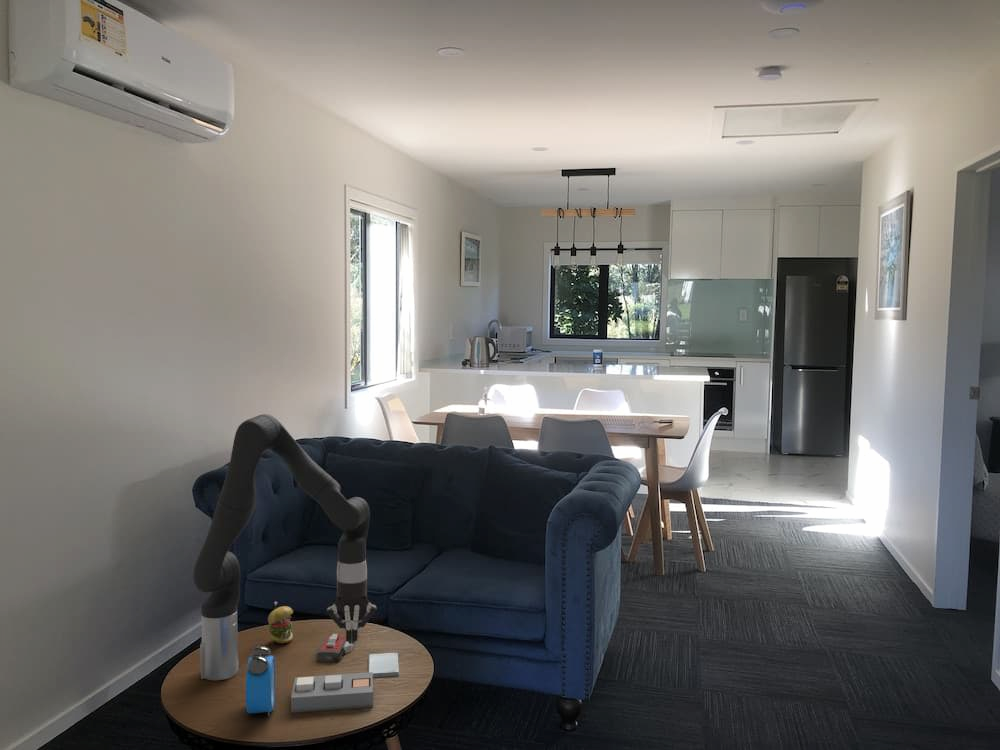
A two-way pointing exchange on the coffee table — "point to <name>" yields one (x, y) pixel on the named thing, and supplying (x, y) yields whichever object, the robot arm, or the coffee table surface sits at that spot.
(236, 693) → the coffee table surface
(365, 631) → the coffee table surface
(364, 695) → the keypad
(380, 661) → the hard drive
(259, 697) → the alarm clock
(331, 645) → the walkie-talkie
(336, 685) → the key mid grey
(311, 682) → the key near ivory
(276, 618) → the hamburger
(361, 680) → the key far terracotta
